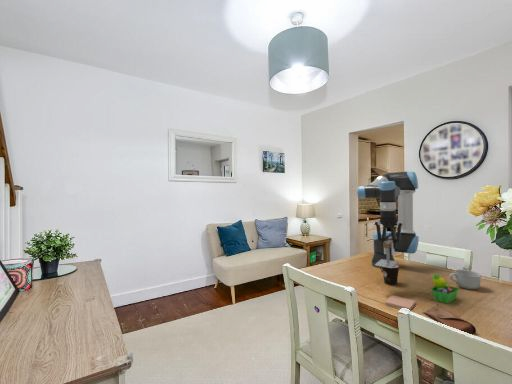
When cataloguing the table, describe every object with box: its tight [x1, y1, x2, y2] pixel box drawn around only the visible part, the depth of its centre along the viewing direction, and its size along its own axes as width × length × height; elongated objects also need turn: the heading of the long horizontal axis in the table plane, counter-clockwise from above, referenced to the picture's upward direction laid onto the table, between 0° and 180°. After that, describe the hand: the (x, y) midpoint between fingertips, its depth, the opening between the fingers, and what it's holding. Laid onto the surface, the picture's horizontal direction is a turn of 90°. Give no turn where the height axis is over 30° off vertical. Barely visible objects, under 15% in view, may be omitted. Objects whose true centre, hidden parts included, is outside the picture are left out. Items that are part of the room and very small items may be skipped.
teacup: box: [449, 268, 482, 291], centre depth 136 cm, size 14×11×8 cm
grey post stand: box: [374, 240, 399, 268], centre depth 135 cm, size 16×8×11 cm, turn 139°
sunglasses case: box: [421, 303, 477, 335], centre depth 102 cm, size 18×7×7 cm, turn 4°
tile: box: [384, 294, 416, 311], centre depth 119 cm, size 2×10×10 cm
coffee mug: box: [379, 264, 400, 286], centre depth 147 cm, size 12×9×10 cm
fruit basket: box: [430, 273, 459, 304], centre depth 123 cm, size 11×9×11 cm
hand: (389, 254), depth 137 cm, fingers closed on grey post stand, 3 cm apart
